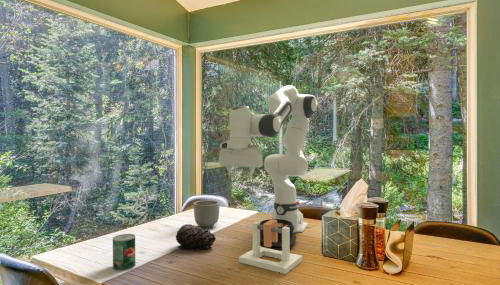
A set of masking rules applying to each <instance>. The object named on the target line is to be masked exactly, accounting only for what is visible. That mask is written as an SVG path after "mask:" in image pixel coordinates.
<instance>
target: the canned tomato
mask: <svg viewBox="0 0 500 285" xmlns="http://www.w3.org/2000/svg"><path fill="white" fill-rule="evenodd" d="M135 267H136V235H135V234H133V233H122V234H117V235H114V236H113V237H112V270H114V271H117V272H123V271H128V270H131V269H133V268H135Z"/></svg>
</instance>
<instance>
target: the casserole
mask: <svg viewBox="0 0 500 285" xmlns="http://www.w3.org/2000/svg"><path fill="white" fill-rule="evenodd" d="M271 219H272V218H271ZM271 219H264V220H261V221H260V225H262V226H263V224H264V223H266V222H268V221H269V220H271ZM273 220H277V228H279V229H282V228H283V227H290V246H293V245H294V244H295V241H296V239H297V235H295V233H293V230H294V229H295V227H294V226H293V224H292V222H290V221H287V220H282V219H273ZM260 242H261V243H264V232H263V230H260ZM271 247H282V233H278V242H276V243H275V242H272V246H271Z"/></svg>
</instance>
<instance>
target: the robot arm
mask: <svg viewBox="0 0 500 285" xmlns="http://www.w3.org/2000/svg"><path fill="white" fill-rule="evenodd" d="M267 106H268V109H269V110H270V113H263V114H262V113H261V114H259V113H258V114H255V113H254V112H252V111H251V110H250V106H247V105H240V106H234V107H232V108H231V110H230V113H229V129H230V135H229V140H226V141H224V142H222V143H220V144H219V148H220V150H219V153H218V163H219V165H220V166H222V167H226V170H227V172H228V177H229V178H231V177H235V172H233V169H232V168H233V167H240V168H241V167H242V168H249V173H247V179H253V176H254V175H253V174H254V173H255V170H256V169H257V168H262V167H264V168H263V169H264V170H265V171H266V172H267V173H268V175H269V176H270V178H271V180H272V184H273V189H274V191H273V192H274V202H273V210H272V212H271V219H282V220H287V221H290V222H292V224H293V226H294V227H295V229H294V230H293V234H295V233H303V231H304V230H305V229H306V228H307V227H308V222H305V221H304V214H303V213H302V212H301V211H300V210H299V208H298V206H300V201H297V187H296V186H295V184H293V183H292V182H291V180H290V177H301V176H305V175H306V174H307V172H308V170H309V163H308V160H307V158H306V156H304V152H303V151H304V150H303V148H304V144H305V141H306V136H307V134H308V130H309V123H310V120H309V119H311V118H312V116H313V115H314V114H315V113H316V111H317V110H318V99H317V98H316V96H315V95H313V94H304V93H303V94H302V93H299V91H298V89H297V88H296V86H294V85H290V84H287V85H284V86H282V87H281V88H279V89H277V90H276V91H275V92H274V93H272V94H271V95H270V96H269V98H268V101H267ZM289 116H291V119H290V120H289V122H288V124H287V126H286V130H285V132H284V135H283V138H282V145H283V146H284V148H285V149H286V153H272V154H270V155H267V156H266V157H265V159H263V147H262V146H261V145H259V144H252V143H251V142H252V138H251V137H263V138H264V137H265V138H274V137H276V136H277V135H278V134H279V133H280V131H281V128H282V126H283V124H284V123H285V121H286V120H287V119H288V117H289ZM263 160H264V161H263Z"/></svg>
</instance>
